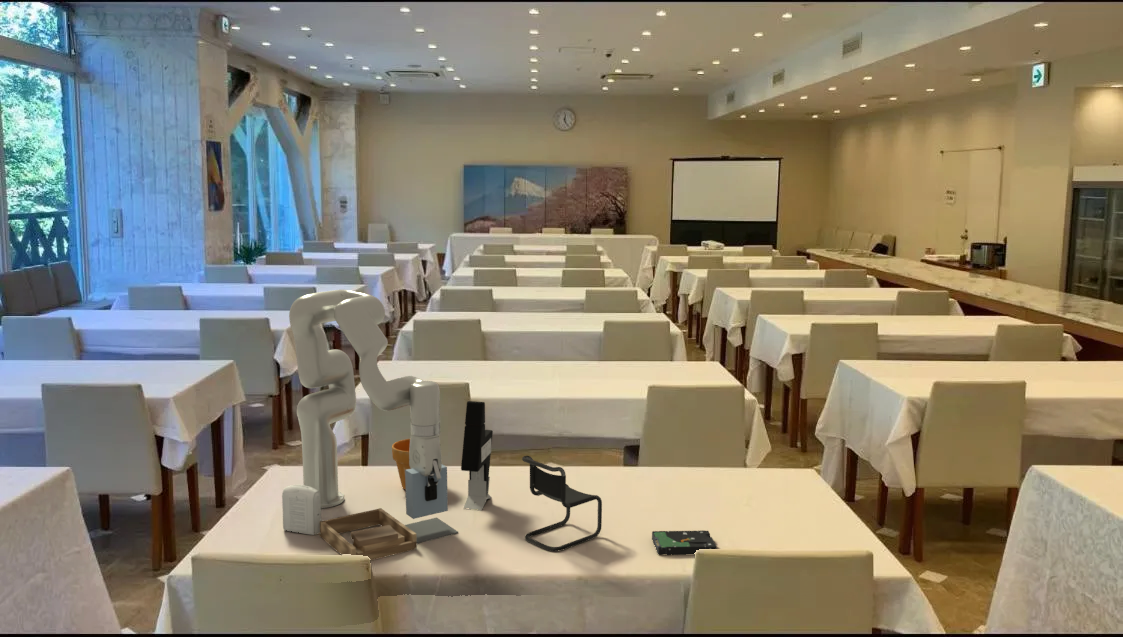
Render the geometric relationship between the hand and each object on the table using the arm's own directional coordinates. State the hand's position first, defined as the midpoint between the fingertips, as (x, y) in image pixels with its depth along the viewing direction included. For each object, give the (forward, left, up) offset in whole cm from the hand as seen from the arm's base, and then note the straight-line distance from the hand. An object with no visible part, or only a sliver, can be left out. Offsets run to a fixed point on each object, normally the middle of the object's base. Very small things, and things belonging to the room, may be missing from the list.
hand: (426, 496), depth 242 cm
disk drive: (+45, +49, -10) cm, 67 cm away
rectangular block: (0, 0, -4) cm, 4 cm away
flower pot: (-32, +13, -10) cm, 36 cm away
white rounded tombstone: (-18, -27, -10) cm, 34 cm away
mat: (0, 0, -9) cm, 9 cm away
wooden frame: (-2, -16, -9) cm, 19 cm away
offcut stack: (+4, -16, -9) cm, 19 cm away
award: (-10, +21, -10) cm, 25 cm away
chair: (+23, +27, -10) cm, 37 cm away
